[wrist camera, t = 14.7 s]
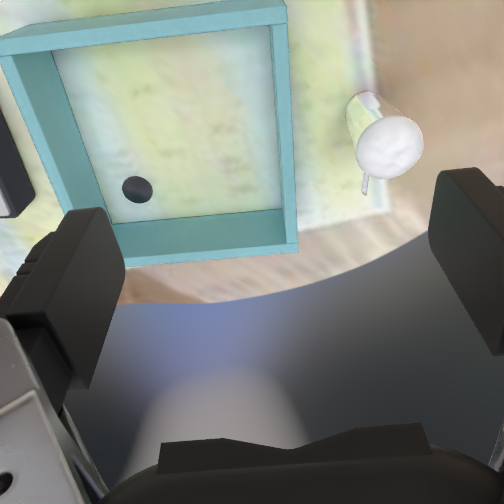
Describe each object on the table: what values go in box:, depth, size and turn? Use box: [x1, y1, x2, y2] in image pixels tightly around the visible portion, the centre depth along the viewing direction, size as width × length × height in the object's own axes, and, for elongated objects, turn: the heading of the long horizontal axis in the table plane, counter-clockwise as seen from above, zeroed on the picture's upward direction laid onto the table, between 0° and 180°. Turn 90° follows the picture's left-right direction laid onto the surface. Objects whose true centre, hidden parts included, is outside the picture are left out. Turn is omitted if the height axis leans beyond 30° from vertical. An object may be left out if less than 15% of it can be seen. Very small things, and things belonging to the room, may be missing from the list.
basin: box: [0, 0, 298, 267], centre depth 35 cm, size 19×19×6 cm
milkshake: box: [345, 91, 423, 195], centre depth 32 cm, size 4×5×10 cm
